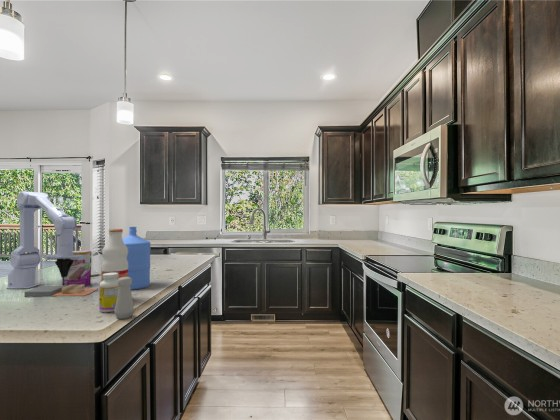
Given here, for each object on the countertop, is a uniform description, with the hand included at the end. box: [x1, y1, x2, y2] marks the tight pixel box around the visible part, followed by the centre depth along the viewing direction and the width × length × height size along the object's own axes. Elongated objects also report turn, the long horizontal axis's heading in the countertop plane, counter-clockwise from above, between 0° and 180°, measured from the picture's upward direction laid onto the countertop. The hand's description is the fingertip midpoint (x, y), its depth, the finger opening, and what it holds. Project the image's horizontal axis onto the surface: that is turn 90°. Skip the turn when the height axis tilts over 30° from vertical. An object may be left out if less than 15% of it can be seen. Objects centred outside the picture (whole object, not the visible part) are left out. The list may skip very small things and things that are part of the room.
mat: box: [51, 288, 99, 297], centre depth 133 cm, size 13×11×1 cm
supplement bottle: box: [98, 273, 120, 313], centre depth 110 cm, size 7×7×13 cm
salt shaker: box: [114, 277, 135, 320], centre depth 102 cm, size 6×6×13 cm
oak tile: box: [62, 284, 86, 294], centre depth 133 cm, size 6×6×2 cm
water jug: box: [122, 226, 151, 291], centre depth 145 cm, size 16×16×28 cm
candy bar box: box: [61, 250, 93, 287], centre depth 145 cm, size 11×5×16 cm, turn 130°
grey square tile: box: [24, 284, 67, 298], centre depth 132 cm, size 10×11×2 cm
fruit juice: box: [100, 228, 128, 283], centre depth 122 cm, size 9×9×28 cm
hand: (64, 276), depth 132 cm, fingers closed
